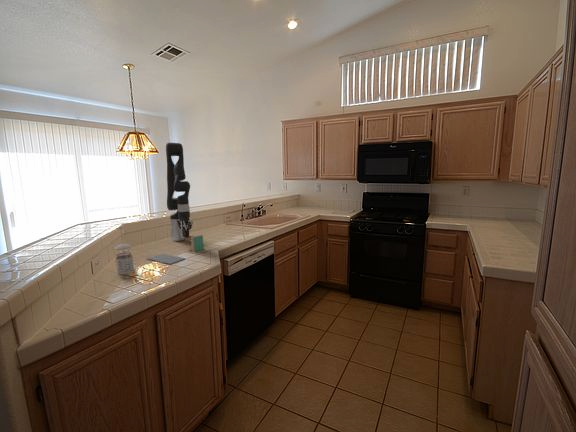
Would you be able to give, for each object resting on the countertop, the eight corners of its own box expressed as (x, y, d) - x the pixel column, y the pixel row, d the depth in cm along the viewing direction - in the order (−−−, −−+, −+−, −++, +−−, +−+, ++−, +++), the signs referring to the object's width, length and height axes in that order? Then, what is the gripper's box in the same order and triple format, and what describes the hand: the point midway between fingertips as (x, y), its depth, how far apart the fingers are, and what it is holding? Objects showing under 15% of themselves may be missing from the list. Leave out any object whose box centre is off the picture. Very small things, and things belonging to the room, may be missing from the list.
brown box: (180, 238, 192) (179, 229, 191) (188, 236, 198) (188, 227, 197) (190, 240, 188) (189, 230, 186) (198, 237, 194) (197, 228, 192)
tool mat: (146, 259, 173) (146, 258, 173) (162, 254, 183) (162, 253, 183) (169, 264, 162) (169, 263, 162) (185, 259, 172) (185, 258, 172)
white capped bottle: (131, 266, 160) (126, 224, 156) (140, 271, 153) (135, 226, 149) (112, 271, 152) (106, 227, 148) (120, 276, 145) (115, 229, 141)
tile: (192, 251, 188) (190, 237, 186) (201, 248, 195) (200, 234, 193) (194, 252, 187) (193, 237, 185) (203, 249, 194) (202, 235, 192)
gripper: (195, 210, 191) (197, 234, 194) (181, 209, 198) (183, 233, 201) (186, 211, 185) (188, 237, 188) (172, 210, 192) (174, 235, 195)
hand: (185, 234), depth 194 cm, fingers closed on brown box, 3 cm apart
